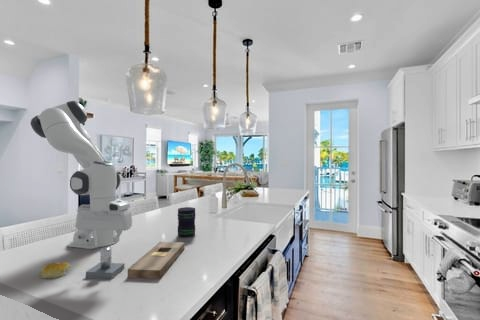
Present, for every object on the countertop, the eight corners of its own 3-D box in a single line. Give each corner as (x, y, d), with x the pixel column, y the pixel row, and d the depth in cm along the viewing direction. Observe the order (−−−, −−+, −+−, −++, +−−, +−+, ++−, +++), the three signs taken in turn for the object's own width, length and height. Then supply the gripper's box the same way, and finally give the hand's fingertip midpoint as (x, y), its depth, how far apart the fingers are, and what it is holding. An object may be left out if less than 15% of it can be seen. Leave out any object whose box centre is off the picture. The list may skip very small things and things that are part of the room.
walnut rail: (127, 277, 88) (127, 268, 88) (159, 248, 118) (160, 241, 118) (160, 278, 88) (160, 269, 88) (184, 248, 118) (184, 242, 118)
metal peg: (98, 269, 90) (98, 250, 90) (104, 265, 94) (104, 246, 94) (107, 269, 90) (107, 250, 90) (113, 265, 94) (113, 247, 94)
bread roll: (49, 270, 95) (49, 259, 95) (74, 269, 96) (74, 258, 96) (34, 280, 86) (34, 268, 86) (61, 279, 88) (61, 267, 88)
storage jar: (174, 235, 139) (174, 208, 139) (189, 231, 146) (189, 206, 146) (182, 239, 132) (183, 211, 132) (198, 235, 138) (198, 209, 138)
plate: (85, 277, 88) (85, 271, 88) (99, 267, 96) (99, 262, 96) (112, 278, 88) (112, 272, 88) (124, 268, 96) (124, 263, 96)
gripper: (71, 205, 89) (71, 243, 89) (124, 206, 88) (125, 245, 88) (83, 202, 96) (84, 238, 96) (134, 203, 94) (134, 239, 94)
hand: (104, 241), depth 92 cm, fingers open, 8 cm apart
